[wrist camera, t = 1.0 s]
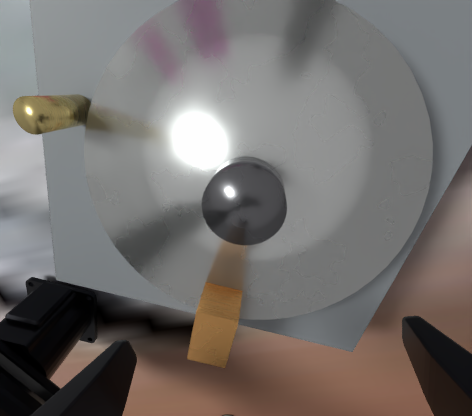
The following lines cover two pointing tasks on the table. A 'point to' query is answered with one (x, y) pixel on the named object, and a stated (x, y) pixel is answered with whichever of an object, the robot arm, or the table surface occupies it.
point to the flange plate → (257, 158)
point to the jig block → (115, 35)
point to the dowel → (50, 112)
